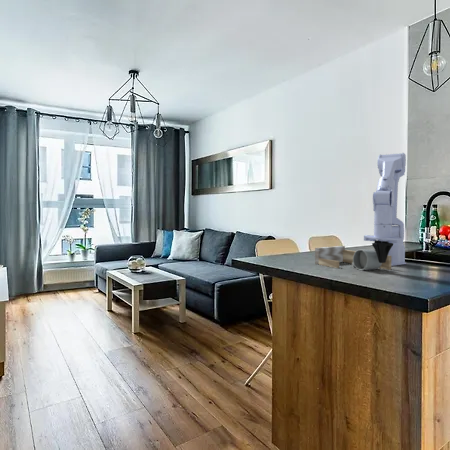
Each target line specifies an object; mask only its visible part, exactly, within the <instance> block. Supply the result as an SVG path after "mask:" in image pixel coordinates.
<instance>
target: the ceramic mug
mask: <svg viewBox="0 0 450 450" xmlns="http://www.w3.org/2000/svg"><path fill="white" fill-rule="evenodd" d="M355 251H356V252H355V253H354V256H353V262H352V263H351V264H352V267H353V268H355V269H356V270H358V271H369V270H371V271H373V270H377V269H381V268H380V267H381V265H382V263H379V261H378V257H377V253H376V251H375V249H363V248H362V249H357V250H355Z"/></svg>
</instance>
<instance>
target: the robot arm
mask: <svg viewBox="0 0 450 450" xmlns="http://www.w3.org/2000/svg"><path fill="white" fill-rule="evenodd" d="M406 157H407V155H406V153H405V152H402V153H390V154H389V153H388V154H387V153H386V154H379V155H378V156H377V163H376V164H377V169H378V174H379V176H380V177H379V179H378V180H377V185H376V189H375V191H374V192H373V194H372V205H373V208H372V209H373V212H374V215H373V217H374V218H373V221H374V222H373V225H374V226H373V228H374V229H373V235H371V234H370V235H366V234H365V235H363V242H364V241H365V242H366V241H367V242H372V243H371V244H372V247H373V248H374V249H373V250H375V251H376V253H377V257H378V261H379V263H386V259H387V256H392V259H391V267H394V266H395V267H396V266H401V265H407V262H406V261H405V260H406V259H405V258H406V247H405V245H404V239H405V224H404V221H402V220H401V219H399V218H398V216H397V215H398V194H399V193H398V192H399V182H400V178H401V177H403V176H405V173H406V165H407V158H406Z"/></svg>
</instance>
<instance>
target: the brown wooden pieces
mask: <svg viewBox="0 0 450 450" xmlns="http://www.w3.org/2000/svg"><path fill="white" fill-rule="evenodd" d="M356 251H357V250H349V249H346V246H345V245H335V246H322V247H315V249H314V264H315V265H318V264H319V266H325V267H330V268H335V269H340V263H349V264H352V262H353V256H354V253H355V252H356ZM391 259H392V256H387V259H386V263H382V265H381V267H380V268H379V269H383V270H392V266H391Z"/></svg>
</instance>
